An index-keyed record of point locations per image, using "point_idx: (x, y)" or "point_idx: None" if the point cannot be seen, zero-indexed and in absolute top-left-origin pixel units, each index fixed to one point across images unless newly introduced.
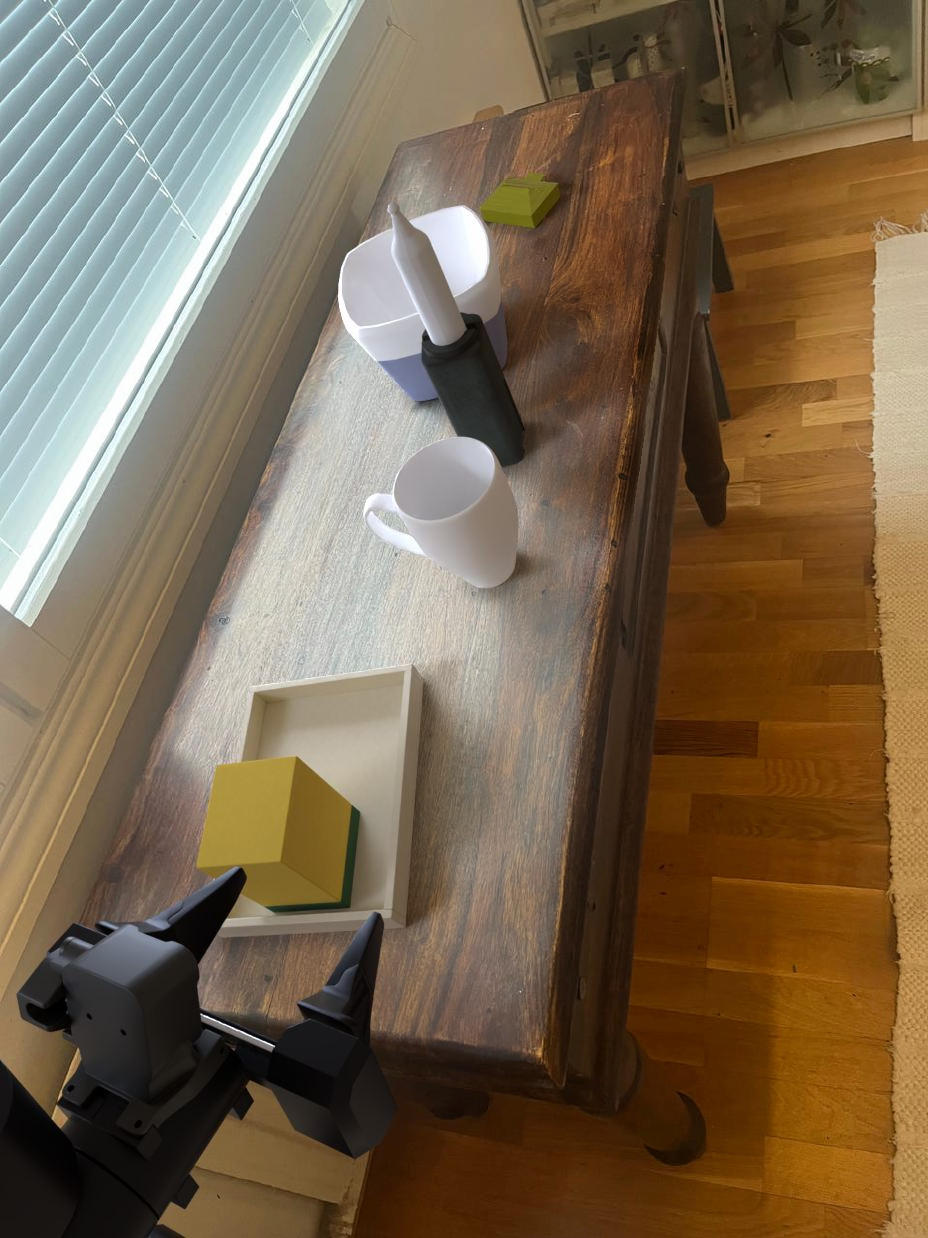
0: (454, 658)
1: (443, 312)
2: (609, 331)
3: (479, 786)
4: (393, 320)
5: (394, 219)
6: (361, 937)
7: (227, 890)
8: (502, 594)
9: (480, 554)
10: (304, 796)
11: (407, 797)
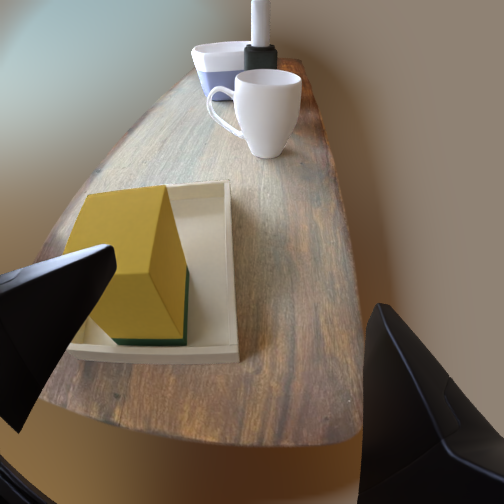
0: (250, 187)
1: (266, 31)
2: (302, 94)
3: (285, 259)
4: (222, 52)
5: None
6: (405, 336)
7: (89, 272)
8: (276, 162)
9: (283, 121)
10: (167, 225)
11: (233, 260)
